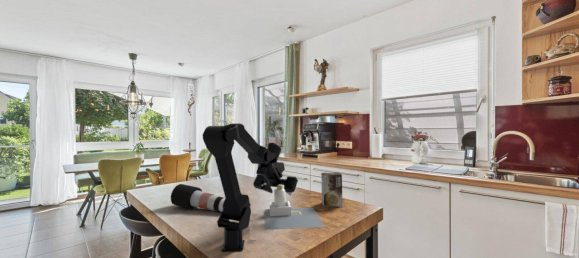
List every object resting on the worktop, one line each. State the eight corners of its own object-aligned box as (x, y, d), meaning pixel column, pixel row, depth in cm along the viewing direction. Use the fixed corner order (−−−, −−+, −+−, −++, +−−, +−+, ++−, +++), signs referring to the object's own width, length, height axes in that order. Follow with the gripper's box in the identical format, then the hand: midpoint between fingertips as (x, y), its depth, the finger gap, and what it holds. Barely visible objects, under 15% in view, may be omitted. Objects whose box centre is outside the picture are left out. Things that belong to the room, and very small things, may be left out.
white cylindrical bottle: (287, 213, 110) (287, 185, 110) (276, 214, 108) (276, 186, 108) (282, 210, 114) (282, 183, 114) (272, 211, 112) (272, 184, 112)
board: (325, 230, 94) (325, 217, 94) (265, 232, 92) (265, 219, 92) (312, 210, 118) (312, 199, 118) (264, 211, 116) (264, 201, 116)
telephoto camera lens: (235, 225, 111) (232, 208, 106) (174, 209, 122) (168, 193, 117) (247, 209, 119) (243, 192, 114) (188, 195, 130) (183, 179, 126)
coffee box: (339, 204, 126) (339, 172, 126) (342, 208, 120) (342, 174, 120) (321, 205, 126) (321, 172, 126) (323, 209, 119) (323, 174, 119)
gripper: (296, 157, 104) (305, 179, 113) (256, 155, 111) (269, 176, 121) (288, 180, 96) (299, 202, 106) (246, 176, 104) (260, 197, 114)
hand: (281, 193), depth 112 cm, fingers open, 9 cm apart
